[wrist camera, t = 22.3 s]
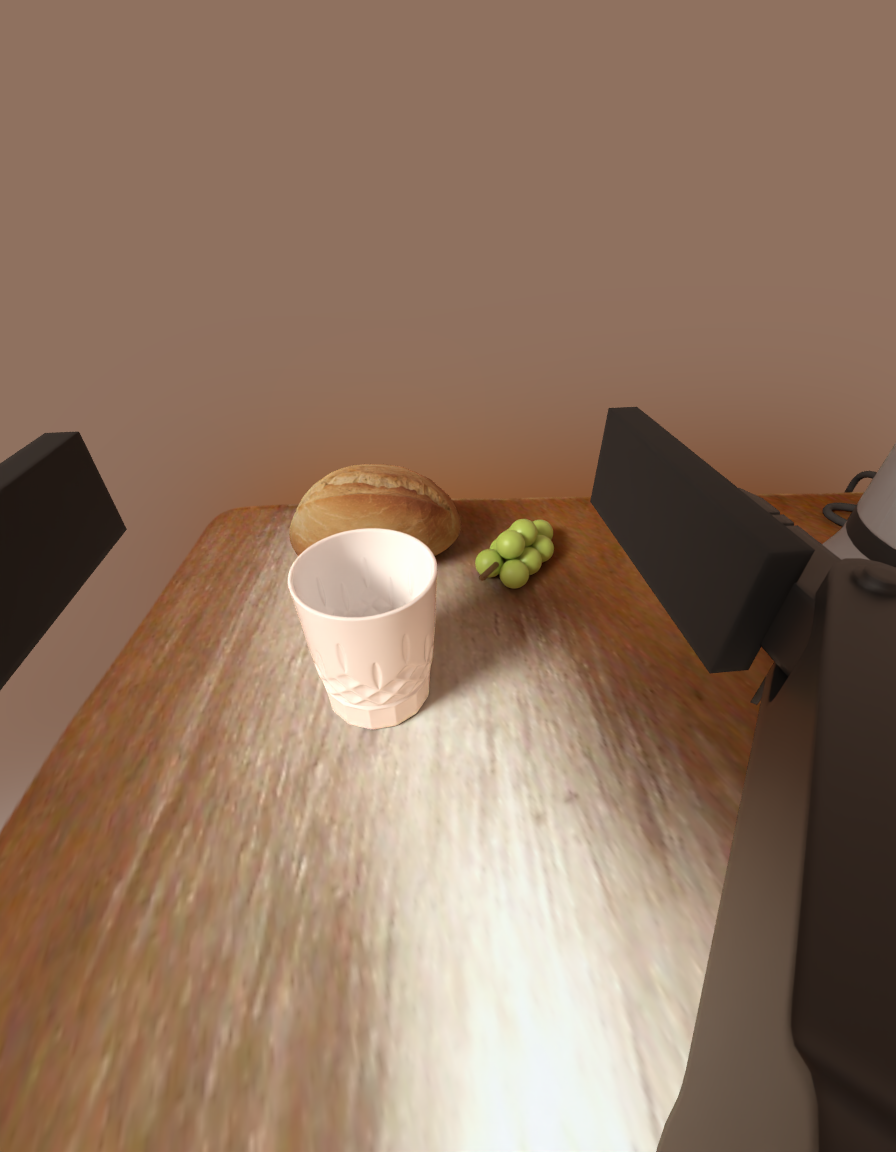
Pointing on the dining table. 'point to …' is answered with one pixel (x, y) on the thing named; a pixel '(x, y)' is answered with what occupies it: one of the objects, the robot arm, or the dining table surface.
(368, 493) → the bread roll
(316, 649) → the white cup
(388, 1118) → the dining table surface
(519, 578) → the grapes
